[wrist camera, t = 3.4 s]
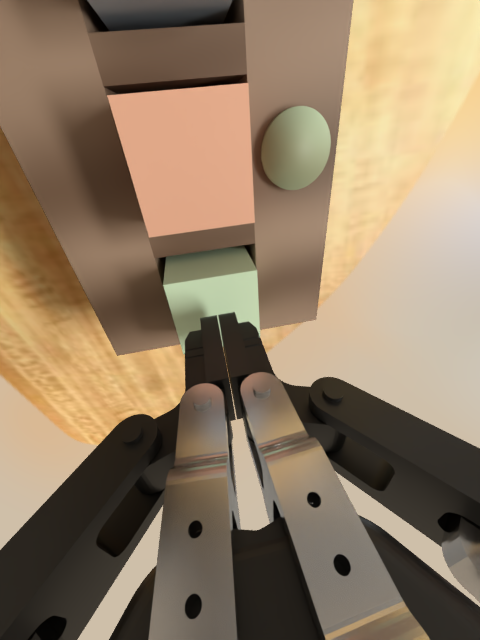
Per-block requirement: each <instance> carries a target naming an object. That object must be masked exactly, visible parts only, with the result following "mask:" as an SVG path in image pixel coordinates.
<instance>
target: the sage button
mask: <svg viewBox="0 0 480 640" xmlns="http://www.w3.org/2000/svg"><path fill="white" fill-rule="evenodd" d="M163 286H164V290H165V293H166V297H167V300H168V303H169V307H170V310H171V314H172V317H173V320H174V324H175V327H176V331H177V334H178V337H179V341H180V344H181V347H182V351H183V354H185V339H186V337H187V336H188V334H189V332H191V331H197V330H201V324H200V318H203V317H209V316H214V315H217V319H218V324H219V329H220V323H219V317H218V315H220V314H226V313H231V312H235V314H236V317H237V321H238V323H242V322H248V321H249V322H250V323H251V324H253V325H254V326H255V327H256V328H257V331H258V333H259V336H260V321H259V299H258V278H257V269H256V267H255V265H254V263H253V261H252V260H251V258H250V256H249V254H248V252H247V250H246V248H245V247H244V245H241V246H234V247H228V248H221V249H214V250H207V251H201V252H194V253H187V254H181V255H174V256H167V257H166V263H165V272H164V281H163ZM220 335H221V329H220ZM221 340H222V336H221ZM222 345H223V342H222Z"/></svg>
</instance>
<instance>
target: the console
mask: <svg viewBox="0 0 480 640" xmlns="http://www.w3.org/2000/svg"><path fill="white" fill-rule="evenodd" d="M352 8H353V0H232V3H231V5H230V8H229V10H228V13H227V15H226V17H225V20H224V22H223V24H216V25H201V26H186V27H171V28H155V29H140V30H125V31H109V29H108V28H107V27H106V25H105V24H104V23H103V21H102V20H101V18H100V17H99V16H98V14H97V13H96V12H95V10H94V9H93V8H92V6H91V5H90V3H89V2H88V1H87V0H0V127H1V129H2V131H3V133H4V135H5V136H6V138H7V140H8V142H9V144H10V146H11V148H12V150H13V152H14V154H15V156H16V158H17V160H18V162H19V164H20V166H21V168H22V170H23V172H24V174H25V176H26V178H27V180H28V182H29V184H30V186H31V188H32V189H33V191H34V193H35V195H36V197H37V199H38V201H39V203H40V205H41V207H42V209H43V211H44V213H45V215H46V217H47V219H48V221H49V223H50V225H51V227H52V229H53V231H54V233H55V235H56V237H57V239H58V240H59V242H60V244H61V246H62V248H63V250H64V252H65V254H66V256H67V258H68V260H69V262H70V264H71V266H72V268H73V270H74V272H75V274H76V276H77V278H78V280H79V282H80V284H81V286H82V288H83V290H84V291H85V293H86V295H87V297H88V299H89V301H90V303H91V305H92V307H93V309H94V311H95V313H96V315H97V317H98V319H99V321H100V323H101V325H102V327H103V329H104V331H105V333H106V335H107V337H108V339H109V341H110V342H111V344H112V346H113V348H114V350H115V352H116V354H117V356H118V355H124V354H129V353H135V352H140V351H146V350H151V349H157V348H162V347H168V346H173V345H179V344H180V341H179V337H178V334H177V331H176V327H175V324H174V320H173V317H172V314H171V310H170V307H169V303H168V300H167V297H166V293H165V290H164V286H163V281H164V272H165V263H166V257H167V256H174V255H181V254H187V253H194V252H201V251H207V250H214V249H221V248H228V247H234V246H241V245H244V247H245V248H246V250H247V252H248V254H249V256H250V258H251V260H252V261H253V263H254V265H255V267H256V269H257V278H258V299H259V321H260V330H262V329H267V328H273V327H278V326H284V325H289V324H295V323H300V322H306V321H311V320H316V316H317V308H318V299H319V290H320V282H321V273H322V265H323V256H324V248H325V239H326V231H327V222H328V213H329V205H330V196H331V188H332V179H333V171H334V162H335V154H336V145H337V136H338V128H339V119H340V111H341V102H342V94H343V85H344V77H345V68H346V60H347V51H348V42H349V34H350V25H351V17H352ZM241 83H248V84H249V106H250V127H251V149H252V170H253V192H254V213H255V223H249V224H242V225H235V226H228V227H221V228H214V229H207V230H200V231H192V232H185V233H178V234H171V235H164V236H157V237H150V238H149V236H148V232H147V229H146V225H145V222H144V219H143V215H142V212H141V209H140V205H139V202H138V198H137V195H136V192H135V188H134V185H133V181H132V178H131V175H130V171H129V168H128V164H127V161H126V158H125V154H124V151H123V147H122V144H121V141H120V137H119V134H118V131H117V127H116V124H115V120H114V117H113V114H112V110H111V107H110V103H109V100H108V97H107V95H117V94H129V93H140V92H151V91H163V90H174V89H185V88H196V87H208V86H219V85H230V84H241Z"/></svg>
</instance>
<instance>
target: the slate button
mask: <svg viewBox="0 0 480 640" xmlns="http://www.w3.org/2000/svg"><path fill="white" fill-rule="evenodd" d="M87 1H88V2H89V3H90V5H91V6H92V8H93V9H94V10H95V12H96V13H97V14H98V16H99V17H100V18H101V20H102V21H103V23H104V24H105V25H106V27H107V28H108V29H109V31H125V30H140V29H155V28H171V27H186V26H201V25H216V24H223V22H224V20H225V17H226V15H227V13H228V10H229V8H230V5H231V3H232V0H87Z"/></svg>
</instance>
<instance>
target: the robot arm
mask: <svg viewBox="0 0 480 640" xmlns="http://www.w3.org/2000/svg"><path fill="white" fill-rule="evenodd" d="M218 317H219V323H220V329H221V335H220V329H219V324H218V319H217V315H214V316H209V317H203V318H200V324H201V330H197V331H191V332H189V334H188V336H187V337H186V339H185V385H186V389H185V393H184V395H183V396H182V399H181V402H180V403H179V404H178V405H177V406H176V407H175V408H174V409H172V410H171V411H169V412H167V413H165V414H163V415H161V416H159V417H157V418H155V419H153V418H152V417H150V416H148V415H145V414H138V415H133V416H131V417H128V418H126V419H125V420H123V421H122V422H120V423H119V424H118V425H117V426H116V427H115V428H114V429H113V430H112V431H111V432H110V434H109V435H108V436H107V437H106V438H105V439H104V440H103V441H102V442H101V443H100V444H99V445H98V446H97V447H96V449H95V450H94V451H93V452H92V453H91V454H90V455H89V456H88V457H87V458H86V459H85V460H84V461H83V462H82V463H81V465H80V466H79V467H78V468H77V469H76V470H75V471H74V472H73V473H72V474H71V475H70V476H69V477H68V478H67V479H66V480H65V482H64V483H63V484H62V485H61V486H60V487H59V488H58V489H57V490H56V491H55V492H54V493H53V494H52V496H51V497H50V498H49V499H48V500H47V501H46V502H45V503H44V504H43V505H42V506H41V507H40V508H39V509H38V510H37V511H36V513H35V514H34V515H33V516H32V517H31V518H30V519H29V520H28V521H27V522H26V523H25V524H24V525H23V527H21V529H20V530H19V531H18V532H17V533H16V534H15V535H14V536H13V537H12V538H11V539H10V541H8V542H7V544H6V545H5V546H4V547H3V548H2V549H1V550H0V640H77V639H78V638H79V636H80V634H81V633H82V631H83V630H84V628H85V627H86V625H87V623H88V622H89V620H90V619H91V617H92V616H93V614H94V612H95V611H96V609H97V608H98V606H99V605H100V603H101V601H102V600H103V598H104V597H105V595H106V594H107V592H108V590H109V588H110V587H111V586H112V584H113V583H114V581H115V579H116V578H117V576H118V574H119V573H120V572H121V570H122V568H123V567H124V565H125V563H126V562H127V561H128V559H129V557H130V556H131V554H132V553H133V551H134V550H135V548H136V546H137V545H138V543H139V542H140V540H141V538H142V537H143V535H144V534H145V532H146V531H147V529H148V528H149V526H150V524H151V523H152V521H153V520H154V518H155V516H156V515H157V513H158V512H159V510H160V509H161V507H162V505H163V514H162V523H161V531H160V541H159V549H158V558H157V565H156V566H155V567H154V569H152V571H151V572H150V573H149V574H148V575H147V577H146V578H145V579H144V580H143V582H142V583H141V585H140V586H139V588H138V589H137V591H136V592H135V594H134V596H133V597H132V599H131V601H130V603H129V604H128V606H127V608H126V610H125V611H124V613H123V615H122V617H121V619H120V621H119V623H118V624H117V626H116V628H115V630H114V632H113V633H112V635H111V637H110V639H109V640H480V607H479V606H478V605H477V604H475V603H474V602H473V601H471V600H470V599H469V598H468V597H466V596H465V595H464V594H463V593H462V592H460V591H459V590H458V589H457V588H455V587H454V586H453V585H451V584H450V583H449V582H448V581H447V580H445V579H444V578H443V577H442V576H441V575H439V574H438V573H437V572H436V571H434V570H433V569H432V568H431V567H429V566H428V565H427V564H426V563H424V562H423V561H422V560H421V559H419V558H418V557H417V556H416V555H414V554H413V553H412V552H411V551H409V550H408V549H407V548H406V547H404V546H403V545H402V544H401V543H399V542H398V541H397V540H396V539H395V538H393V537H392V536H391V535H390V534H388V533H387V532H386V531H385V530H383V529H382V528H381V527H379V526H377V525H376V524H374V523H373V522H371V521H369V520H367V519H365V518H363V517H361V516H359V515H358V514H357V512H356V510H355V509H354V507H353V505H352V503H351V501H350V499H349V497H348V495H347V493H346V491H345V490H344V488H343V486H342V484H341V482H340V480H339V478H338V476H337V474H336V473H335V471H336V472H337V473H338V474H340V475H341V476H343V477H344V478H346V479H347V480H348V481H350V482H351V483H352V484H354V485H355V486H357V487H358V488H360V489H361V490H362V491H364V492H365V493H367V494H368V495H369V496H371V497H372V498H374V499H375V500H377V501H378V502H379V503H381V504H382V505H383V506H385V507H386V508H388V509H389V510H390V511H392V512H393V513H395V514H396V515H397V516H399V517H400V518H402V519H403V520H404V521H406V522H407V523H409V524H410V525H412V526H413V527H414V528H416V529H417V530H419V531H420V532H422V533H423V534H424V535H426V536H427V537H429V538H430V539H431V540H433V541H434V542H435V543H437V544H438V545H440V546H441V547H442V551H443V556H444V558H445V561H446V563H447V565H448V567H449V569H450V571H451V572H452V574H453V576H454V577H455V578H456V579H457V580H458V582H459V583H460V584H461V585H462V586H463V587H464V588H465V589H466V590H467V591H468V592H469V593H471V594H472V595H473V596H474V597H475V598H476V599H477V600H478V601H479V602H480V448H477V447H476V446H473V445H471V444H469V443H467V442H465V441H463V440H461V439H459V438H457V437H455V436H453V435H451V434H449V433H447V432H445V431H443V430H441V429H439V428H437V427H435V426H433V425H431V424H429V423H427V422H425V421H423V420H421V419H419V418H417V417H415V416H413V415H411V414H409V413H407V412H405V411H403V410H401V409H399V408H397V407H395V406H393V405H391V404H389V403H387V402H385V401H383V400H381V399H379V398H377V397H375V396H373V395H371V394H369V393H367V392H365V391H363V390H361V389H359V388H357V387H354V386H353V385H351V384H349V383H347V382H345V381H343V380H340V379H337V378H333V377H324V378H320V379H318V380H316V381H315V382H314V383H313V384H312V386H311V387H303V386H294V385H289V384H287V383H284V382H283V381H281V380H280V379H278V378H277V377H276V376H275V374H274V372H273V370H272V367H271V365H270V362H269V360H268V357H267V354H266V352H265V349H264V346H263V345H262V341H261V339H260V336H259V333H258V331H257V328H256V327H255V326H254V325H253V324H251V323H250V322H249V321H248V322H242V323H238V321H237V317H236V314H235V312H231V313H226V314H220V315H218ZM221 336H222V340H221ZM222 342H223V345H222ZM223 348H224V350H223ZM224 353H225V355H224ZM225 358H226V360H225ZM226 364H227V366H226ZM227 369H228V371H227ZM228 374H229V376H228ZM229 379H230V382H229ZM230 384H231V388H230ZM231 389H232V394H233V399H234V405H235V409H236V415H237V419H241V418H243V421H244V426H245V431H246V438H247V442H248V445H249V448H250V452H251V455H252V458H253V462H254V465H255V469H256V472H257V476H258V479H259V483H260V486H261V489H262V493H263V497H264V502H265V506H266V511H267V514H268V518H269V521H270V524H269V525H267V526H265V527H264V528H262V529H260V530H257V531H252V530H241V528H240V518H239V509H238V502H237V491H236V480H235V468H234V456H233V444H232V438H233V433H232V427H231V422H230V421H232V420H235V414H234V407H233V401H232V394H231Z"/></svg>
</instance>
